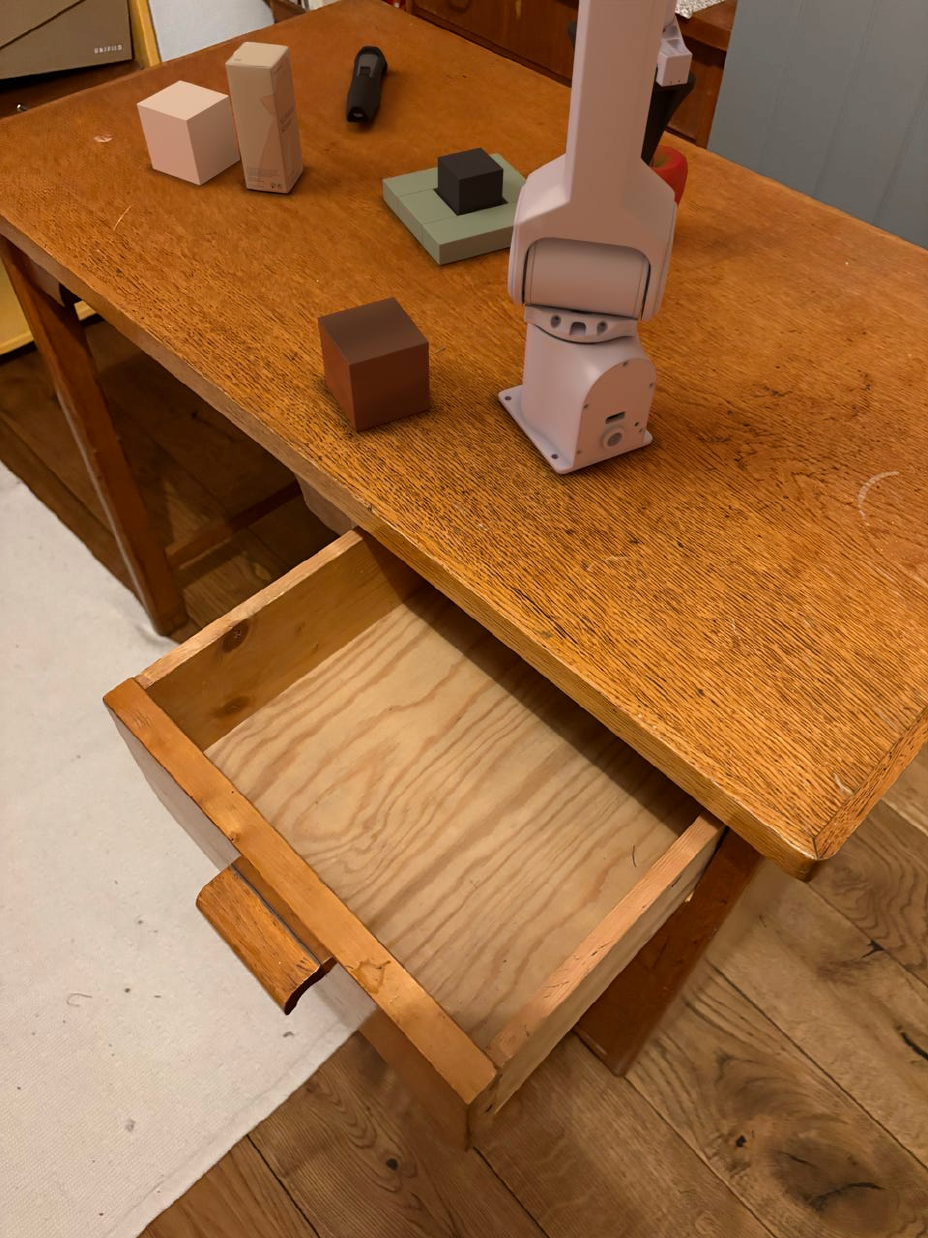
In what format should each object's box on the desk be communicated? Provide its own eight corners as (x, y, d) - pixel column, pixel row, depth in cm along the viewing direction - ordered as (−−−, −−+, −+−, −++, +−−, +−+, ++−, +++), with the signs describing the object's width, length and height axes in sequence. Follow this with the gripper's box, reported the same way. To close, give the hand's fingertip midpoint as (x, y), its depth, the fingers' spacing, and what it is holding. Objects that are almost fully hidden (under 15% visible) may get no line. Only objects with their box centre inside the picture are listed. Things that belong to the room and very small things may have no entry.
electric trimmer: (339, 135, 94) (336, 103, 91) (356, 68, 103) (354, 37, 100) (375, 136, 94) (373, 104, 91) (389, 69, 103) (388, 38, 100)
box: (288, 195, 86) (270, 68, 77) (245, 189, 86) (222, 62, 78) (305, 168, 89) (289, 43, 80) (263, 163, 90) (243, 38, 81)
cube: (430, 409, 68) (429, 341, 63) (355, 432, 66) (349, 364, 61) (397, 363, 71) (394, 295, 66) (325, 384, 69) (317, 316, 64)
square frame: (559, 233, 83) (561, 212, 81) (439, 265, 79) (439, 244, 78) (496, 172, 89) (498, 152, 88) (383, 199, 86) (382, 178, 84)
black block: (501, 222, 84) (504, 168, 80) (458, 233, 82) (459, 179, 78) (479, 200, 86) (481, 146, 82) (437, 210, 85) (437, 156, 81)
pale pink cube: (240, 159, 90) (229, 95, 85) (200, 185, 87) (186, 120, 82) (193, 143, 92) (180, 79, 87) (152, 168, 89) (136, 103, 84)
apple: (655, 210, 85) (671, 128, 79) (686, 245, 82) (705, 161, 76) (594, 222, 84) (605, 139, 78) (623, 257, 80) (638, 173, 74)
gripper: (552, -86, 66) (537, 110, 77) (638, -14, 58) (607, 194, 69) (640, -94, 68) (612, 99, 78) (735, -25, 59) (690, 180, 70)
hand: (615, 143), depth 74 cm, fingers open, 7 cm apart
